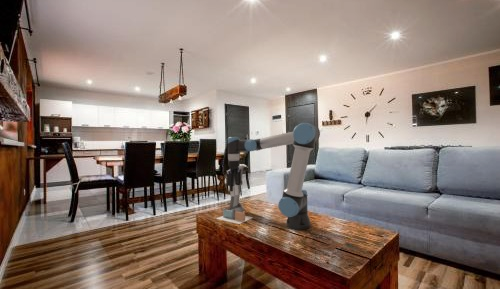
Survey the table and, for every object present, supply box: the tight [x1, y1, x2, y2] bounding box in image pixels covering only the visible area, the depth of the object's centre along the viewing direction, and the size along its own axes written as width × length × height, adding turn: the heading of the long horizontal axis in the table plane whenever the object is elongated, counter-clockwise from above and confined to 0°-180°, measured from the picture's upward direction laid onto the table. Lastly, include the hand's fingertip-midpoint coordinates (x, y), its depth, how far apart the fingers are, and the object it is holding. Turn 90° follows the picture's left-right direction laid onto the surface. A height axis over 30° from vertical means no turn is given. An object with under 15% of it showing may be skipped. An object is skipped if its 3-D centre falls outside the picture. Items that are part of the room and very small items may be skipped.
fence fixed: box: [222, 207, 235, 219], centre depth 167 cm, size 11×2×7 cm, turn 54°
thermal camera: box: [227, 165, 245, 213], centre depth 186 cm, size 12×13×35 cm
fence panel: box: [235, 210, 246, 222], centre depth 161 cm, size 8×1×6 cm, turn 54°
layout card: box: [216, 215, 254, 225], centre depth 166 cm, size 21×16×1 cm
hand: (234, 195), depth 156 cm, fingers open, 4 cm apart
